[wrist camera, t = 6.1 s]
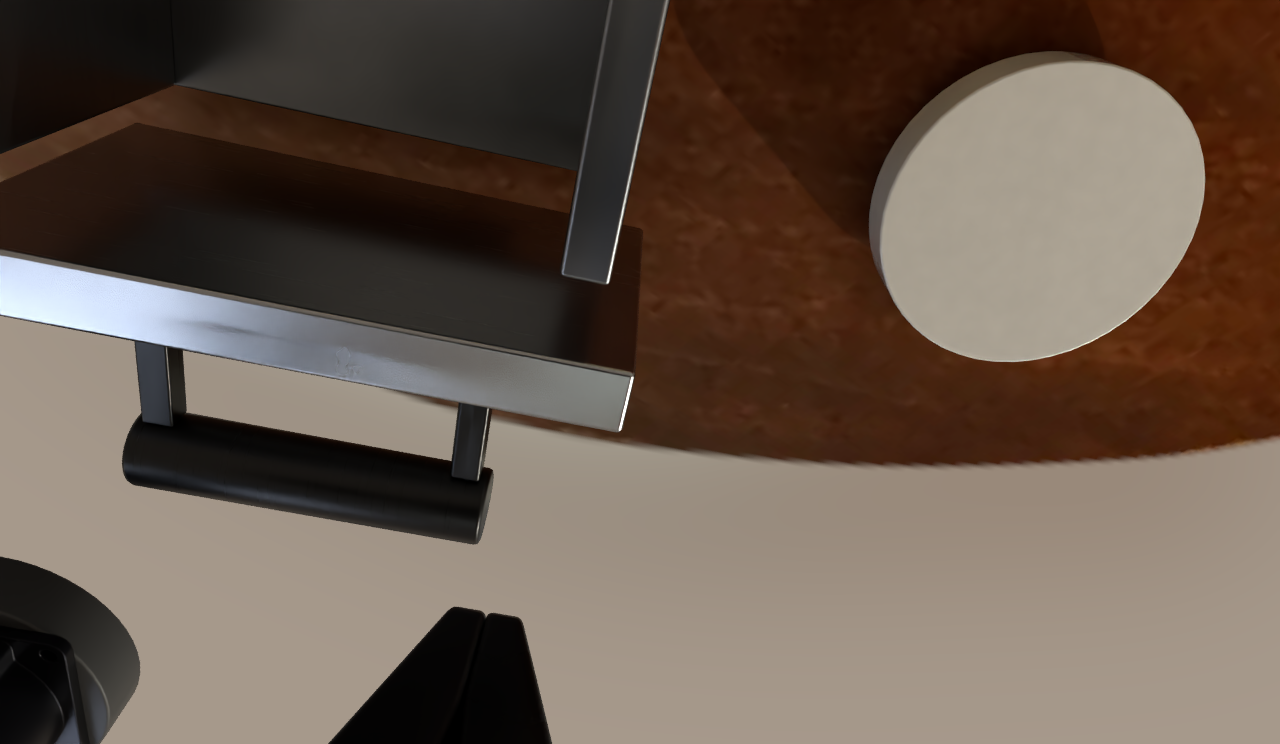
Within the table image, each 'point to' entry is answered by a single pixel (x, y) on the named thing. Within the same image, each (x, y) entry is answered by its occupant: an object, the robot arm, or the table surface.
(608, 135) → the drawer
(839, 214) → the table surface
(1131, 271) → the cylinder
